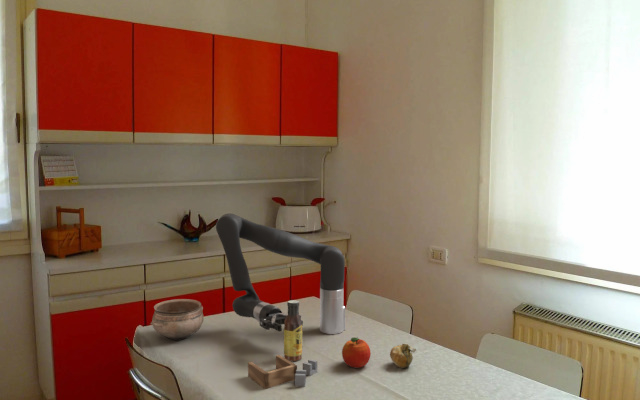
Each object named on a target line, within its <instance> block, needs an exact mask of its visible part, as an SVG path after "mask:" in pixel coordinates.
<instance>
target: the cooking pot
mask: <svg viewBox="0 0 640 400" xmlns="http://www.w3.org/2000/svg"><path fill="white" fill-rule="evenodd" d="M153 308H154V309H153V310H154V313H153V315H152V319H151V320H152V321H151V322H150V325H152V327H153V328H154V331H156V333H158V334H159V335H161V336H163V337H165V338H169V339H170V340H172V341H173V340H175V341H179V340H184V339H187V338H188V337H189V336H191V335H193V334H194V333H196V332H198V330H199V329H200V328H201V327H202V326H203V323H204V319H205V318H204V314H203V309H204V307H203V305H202V303H201V302H200V301H199V300H196V299H189V298H188V299H187V298H177V299H176V298H175V299H170V300H164V301H161V302H159V303H155V305H154V306H153Z"/></svg>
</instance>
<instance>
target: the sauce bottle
mask: <svg viewBox="0 0 640 400" xmlns="http://www.w3.org/2000/svg"><path fill="white" fill-rule="evenodd" d="M286 305H287V314H288V315H287V317H286V318H285V322H284V324H283V327H284V328H283V354H284V355H283V358H285V359H287V360H289V361H290V362H296V361H300V360H301V359H302V356H303V326H302V322H301V320H302V318H301V319H300V316H301V315H300V313H299V311H300V310H299V306H300V301H299V300H296V299H294V300H293V299H291V300H288V301H287V304H286ZM299 315H300V316H299Z"/></svg>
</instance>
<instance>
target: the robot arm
mask: <svg viewBox="0 0 640 400" xmlns="http://www.w3.org/2000/svg"><path fill="white" fill-rule="evenodd" d="M215 230H216V233H217V235H218V238H219V239H220V242H221V245H222V247H223V250H224V253H225V257H226V261H227V265H228V266H227V267H228V271H229V274H230V279H231V283H232V288H233V290H234V291H236V292H243V291H245V294H244V295H240V296H237V297H236V298H235V299H234V300H232V301H233V302H232V309H233V311H234V313H235V314H236V315H238V316H239V317H242V318H243V317H244V318H252V319H254V320H256V321H257V322H259V326H260V327H261V328H262V329H265V330H266V331H269V330H270V329H271V330H275V331H277V332H282V328H283V327H282V326H284V322H285V318H286V317H287V315H288V313H283V311H282V310H281V309H280V308H279V307H277V306H275V305H273V304H271V303H269V302H265V301H263V300H261V299H260V297H259V295H258V294H257V293H256V290H255V289H254V286H253V284H252V281H251V278H250V273H249V270H248V265H247V262H246V259H245V257H244V254H243V252H242V248H241V243H240V242H241V240H240V239H243V240H247V241H249V242H252V243H254V244H256V245H257V246H259V247H260V248H262V249H265V250H267V251H269V252H271V253H274V254H277V255H281V256H284V257H288V258H297V259H298V258H299V259H306V260H308V261H311V262H314V263H317V264H318V265H320V282H319V332H321V333H323V334H328V335H336V334H340V333H342V332H344V331H346V306H345V305H344V288H345V287H344V283H345V267H346V266H345V263H346V262H345V261H346V260H345V255H344V254H343V252H342V250H341V249H339V248H338V247H336V246H333V245H330V244H325V243H320V242H319V243H318V242H315V241H311V240H309V239H306V238H304V237H302V236H299V235H296V234H294V233H292V232H288V231H285V230H282V229H279V228H276V227H272V226H267V225H263V224H260V223H256V222H252V221H250V220H248V219H246V218H243V217H241V216H239V215H237V214H234V213H231V212H229V213H225V214H223V215H222V216H220V217H219V218H218V220H217V221H216V224H215ZM299 316H300V319H301V322H302V327H303V325H304V321H303V320H302V315H300V314H299Z"/></svg>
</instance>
